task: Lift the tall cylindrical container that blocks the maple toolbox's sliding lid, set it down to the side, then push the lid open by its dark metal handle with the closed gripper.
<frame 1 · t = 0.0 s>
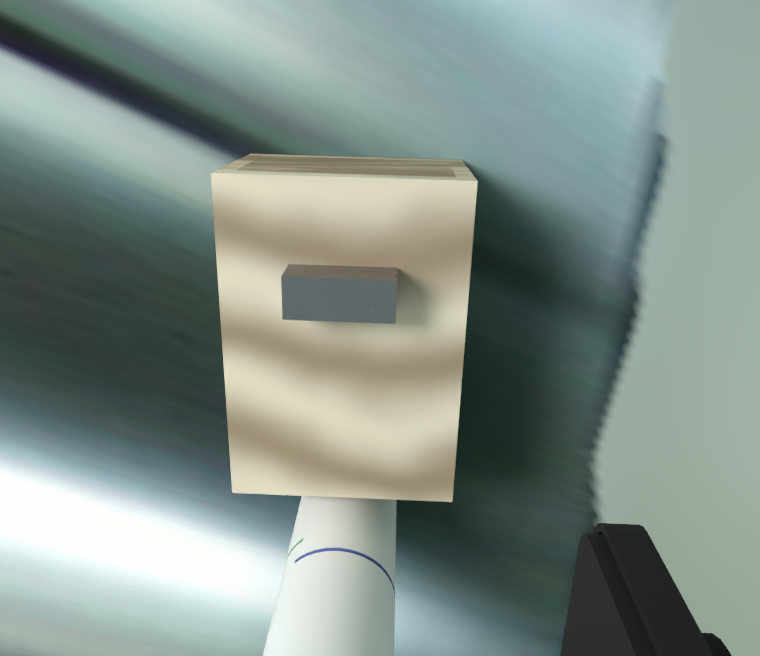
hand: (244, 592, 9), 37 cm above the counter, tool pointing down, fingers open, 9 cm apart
toolbox lid: (341, 356, 37), point 10 cm above the counter, slide at 0.0 cm
toolbox: (354, 300, 46), on the counter
cylindrical container: (352, 476, 52), on the counter
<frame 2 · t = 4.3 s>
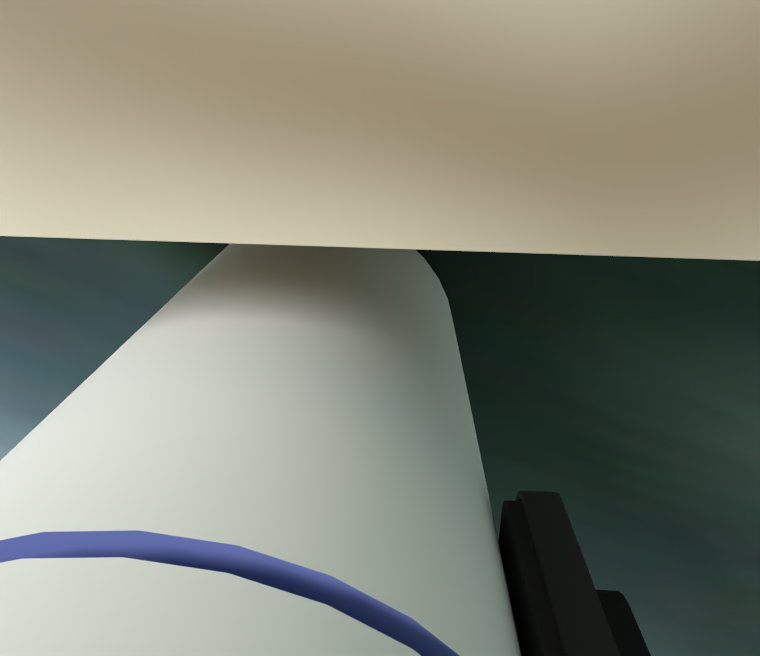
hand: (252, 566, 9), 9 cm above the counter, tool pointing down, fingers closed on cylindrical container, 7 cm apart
cylindrical container: (324, 337, 18), on the counter, touching gripper
when the fingers open (10 cm above the counter, at t = 13.5 s): cylindrical container drops 1 cm, on the counter.
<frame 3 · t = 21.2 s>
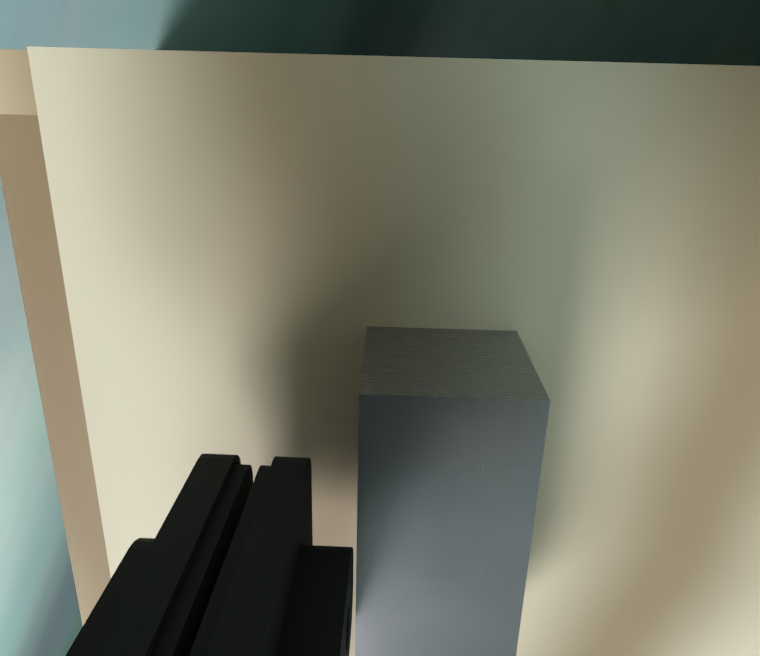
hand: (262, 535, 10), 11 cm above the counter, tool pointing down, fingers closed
toolbox lid: (672, 516, 11), point 10 cm above the counter, slide at 1.6 cm, touching gripper
toolbox: (491, 311, 20), on the counter
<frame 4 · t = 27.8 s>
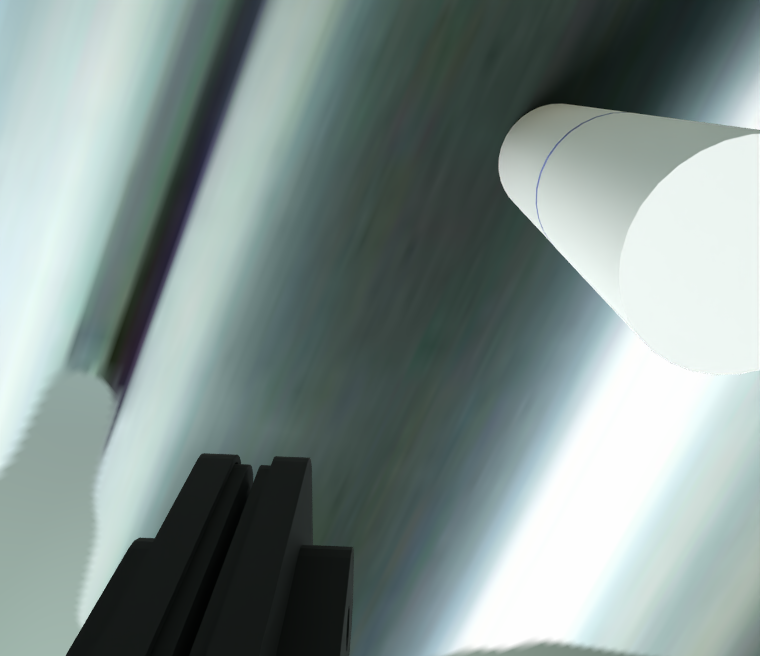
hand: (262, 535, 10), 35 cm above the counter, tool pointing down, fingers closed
cylindrical container: (553, 161, 42), on the counter
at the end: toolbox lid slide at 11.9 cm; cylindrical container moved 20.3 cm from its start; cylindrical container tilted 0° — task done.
